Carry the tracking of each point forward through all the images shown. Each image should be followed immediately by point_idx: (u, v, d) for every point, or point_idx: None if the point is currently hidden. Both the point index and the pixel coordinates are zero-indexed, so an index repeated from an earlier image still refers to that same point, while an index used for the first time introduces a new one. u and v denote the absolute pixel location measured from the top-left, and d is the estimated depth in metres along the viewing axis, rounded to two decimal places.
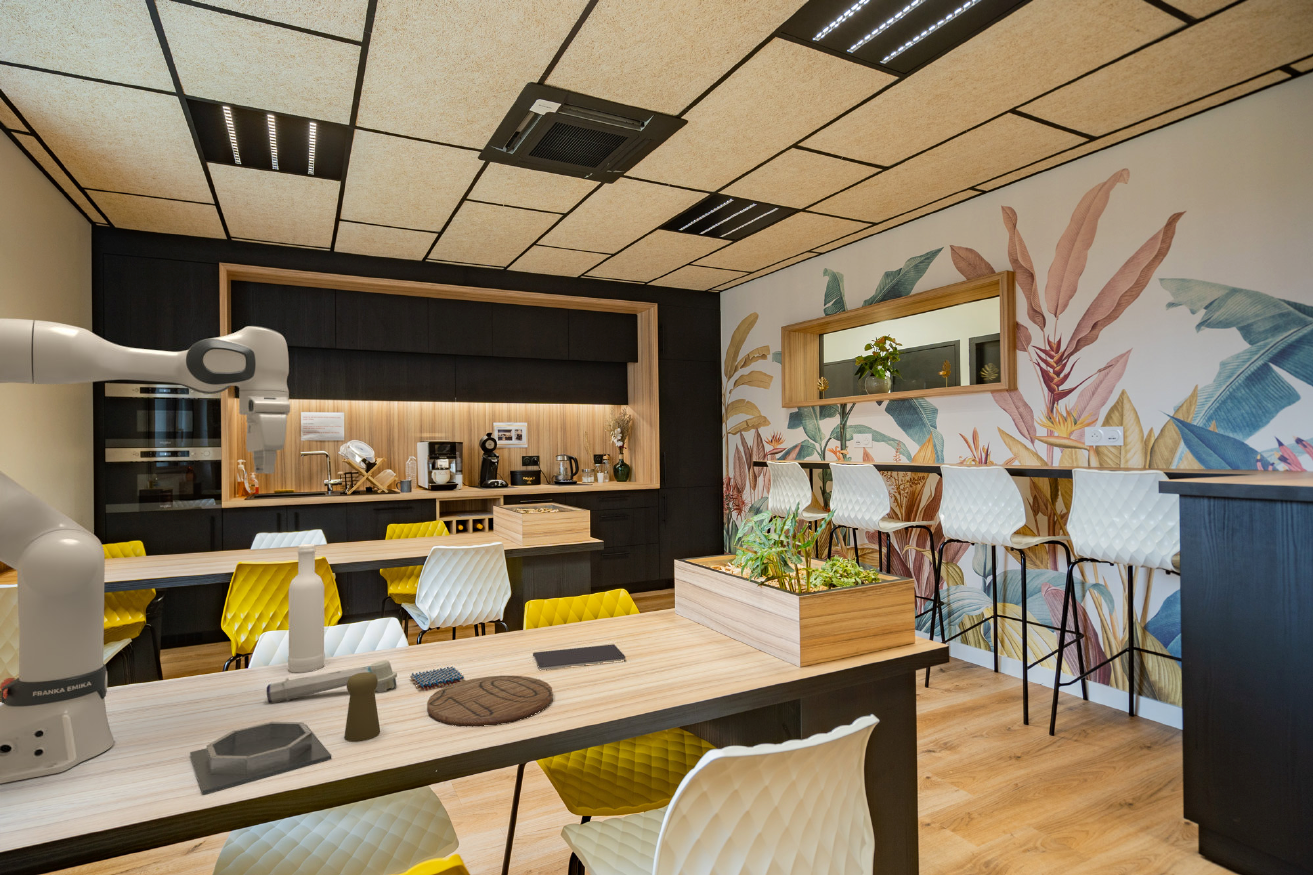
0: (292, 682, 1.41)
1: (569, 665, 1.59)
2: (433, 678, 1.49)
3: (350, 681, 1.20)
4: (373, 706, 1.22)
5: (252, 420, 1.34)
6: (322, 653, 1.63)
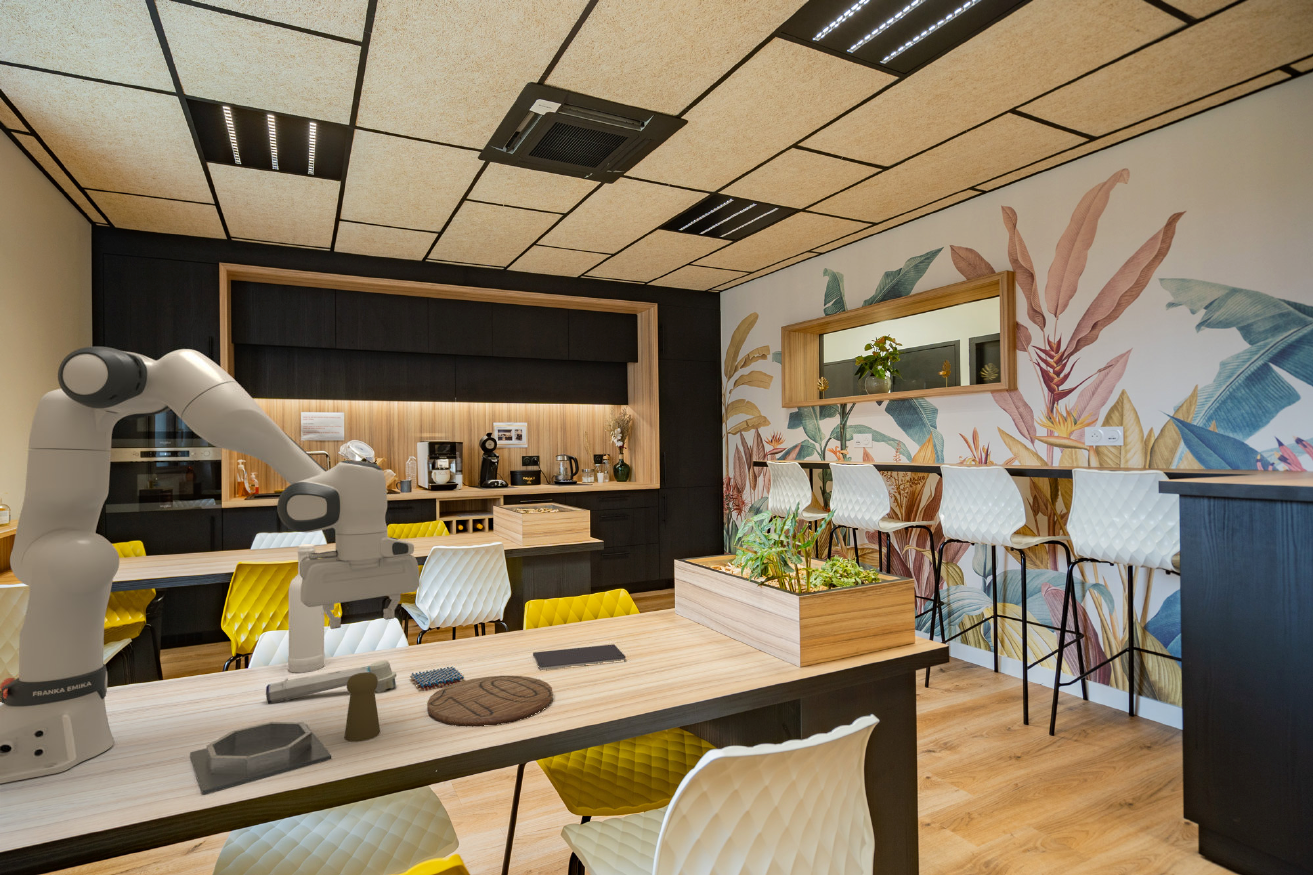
0: (291, 682, 1.41)
1: (569, 665, 1.59)
2: (433, 678, 1.49)
3: (350, 681, 1.20)
4: (373, 706, 1.22)
5: (377, 564, 1.22)
6: (322, 653, 1.63)
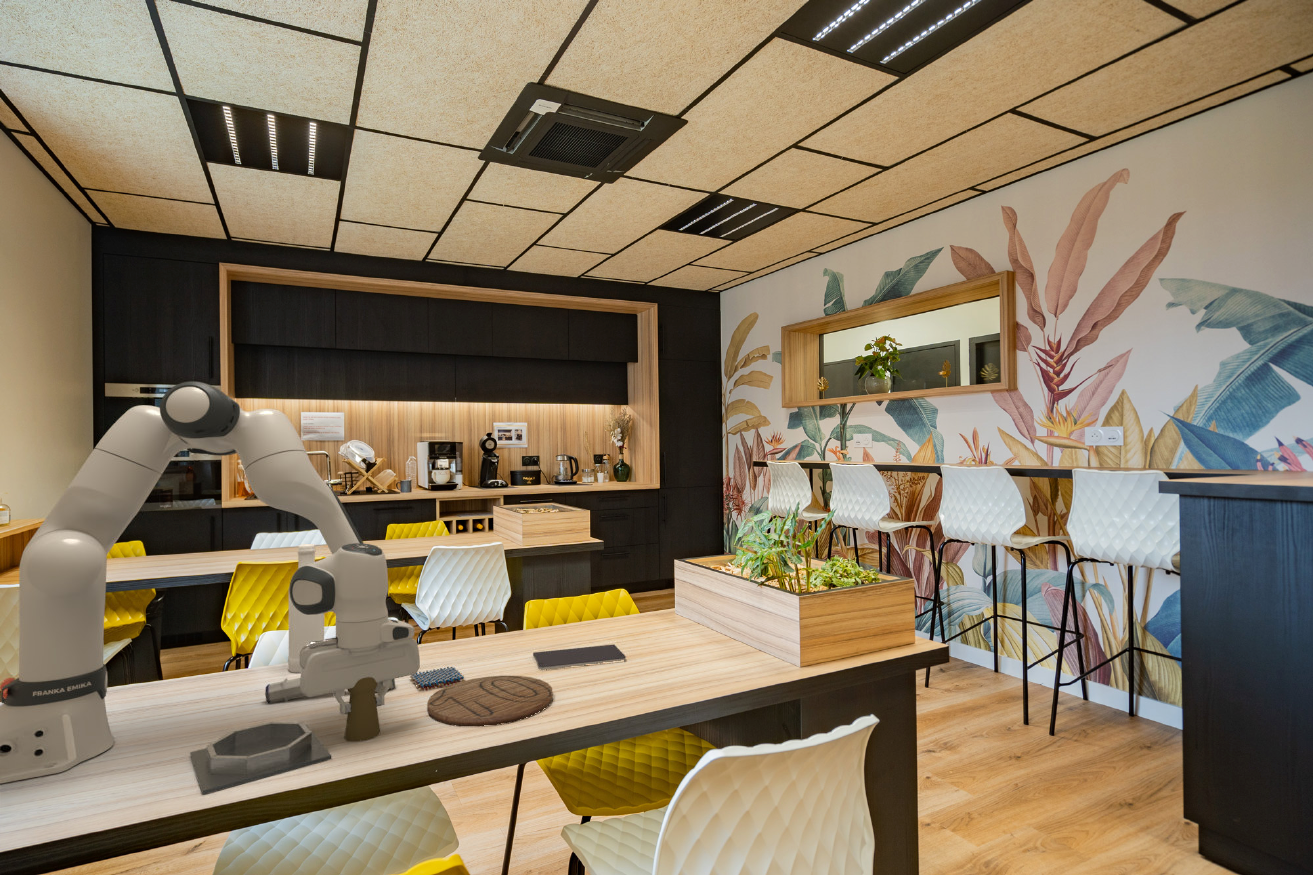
0: (291, 682, 1.41)
1: (569, 665, 1.59)
2: (433, 678, 1.49)
3: None
4: (373, 706, 1.22)
5: (377, 650, 1.22)
6: None
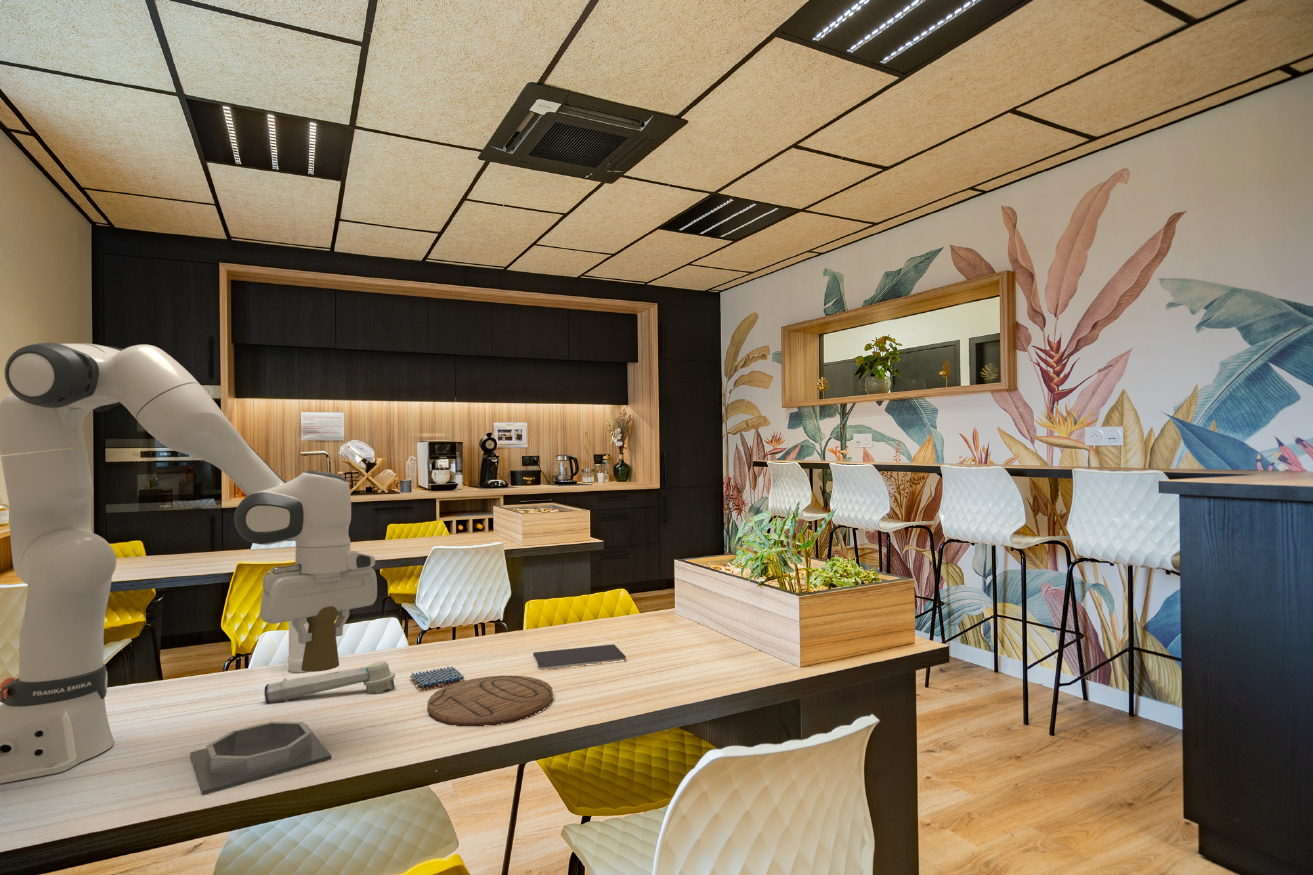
0: (290, 682, 1.41)
1: (569, 665, 1.60)
2: (433, 678, 1.49)
3: None
4: (334, 636, 1.19)
5: (340, 578, 1.20)
6: None
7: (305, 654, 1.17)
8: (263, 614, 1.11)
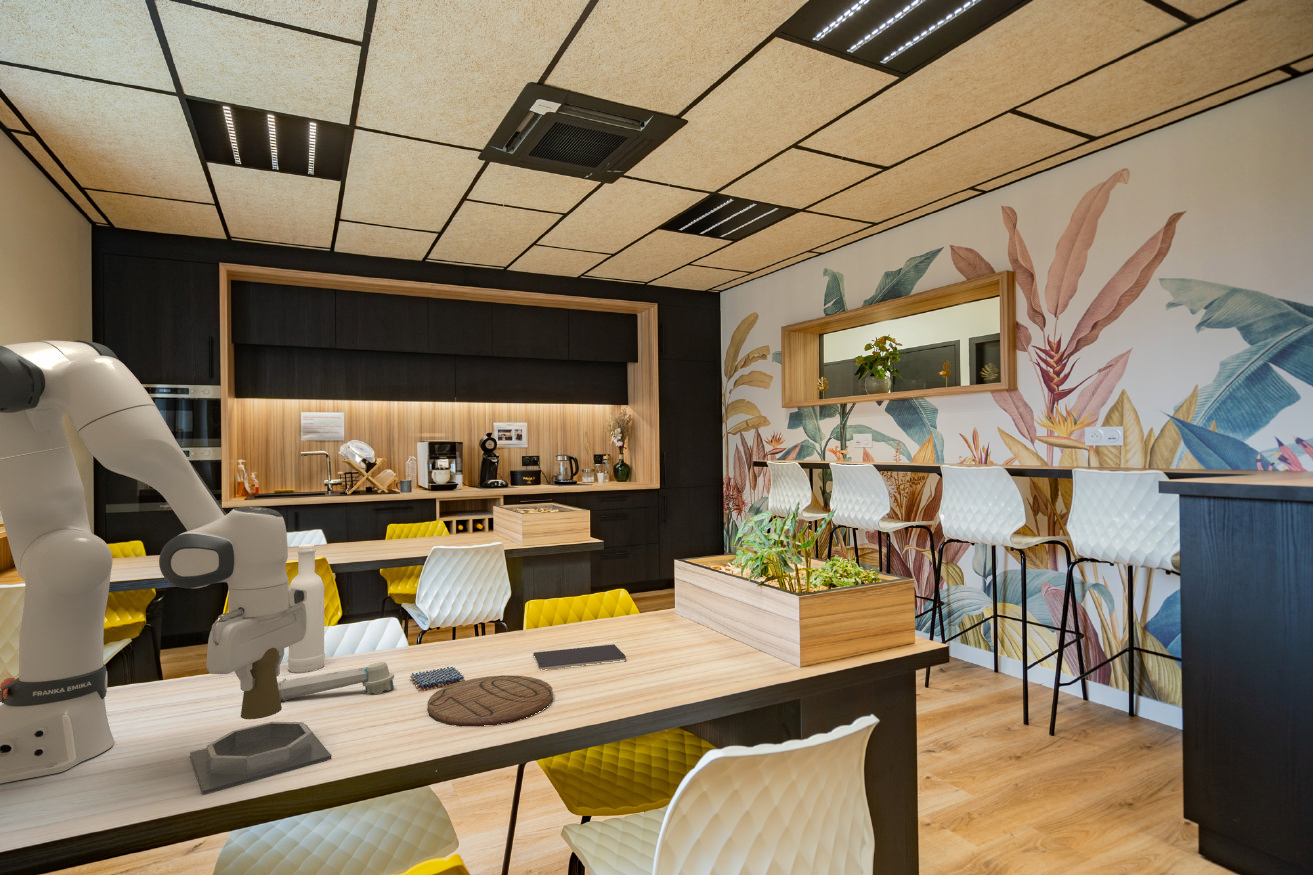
0: (289, 682, 1.41)
1: (570, 665, 1.60)
2: (433, 678, 1.49)
3: None
4: (276, 678, 1.15)
5: (280, 616, 1.15)
6: (322, 653, 1.63)
7: (248, 702, 1.11)
8: (213, 666, 1.04)
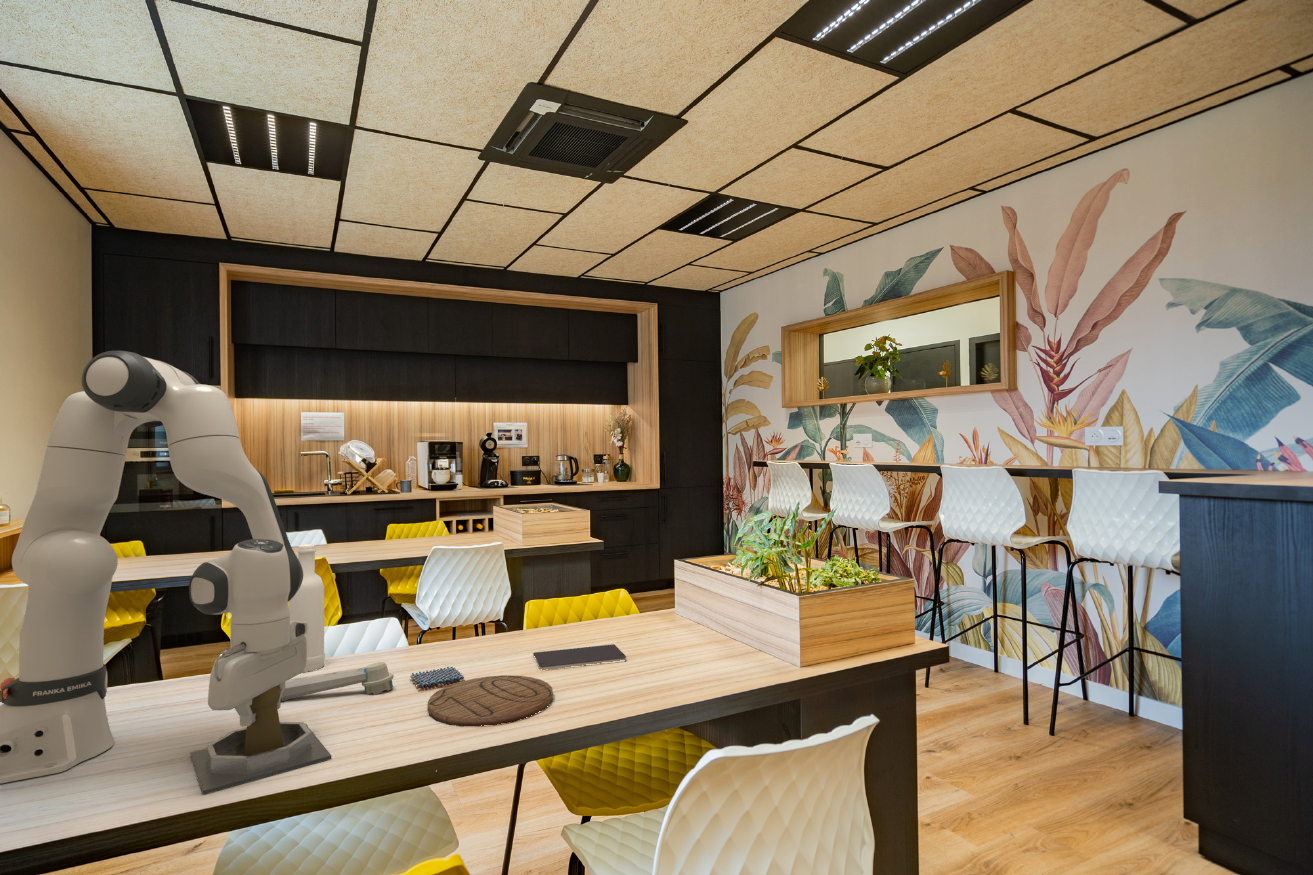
0: (288, 682, 1.41)
1: (570, 665, 1.60)
2: (433, 678, 1.49)
3: None
4: (278, 716, 1.15)
5: None
6: (322, 653, 1.63)
7: (251, 742, 1.11)
8: (215, 702, 1.04)
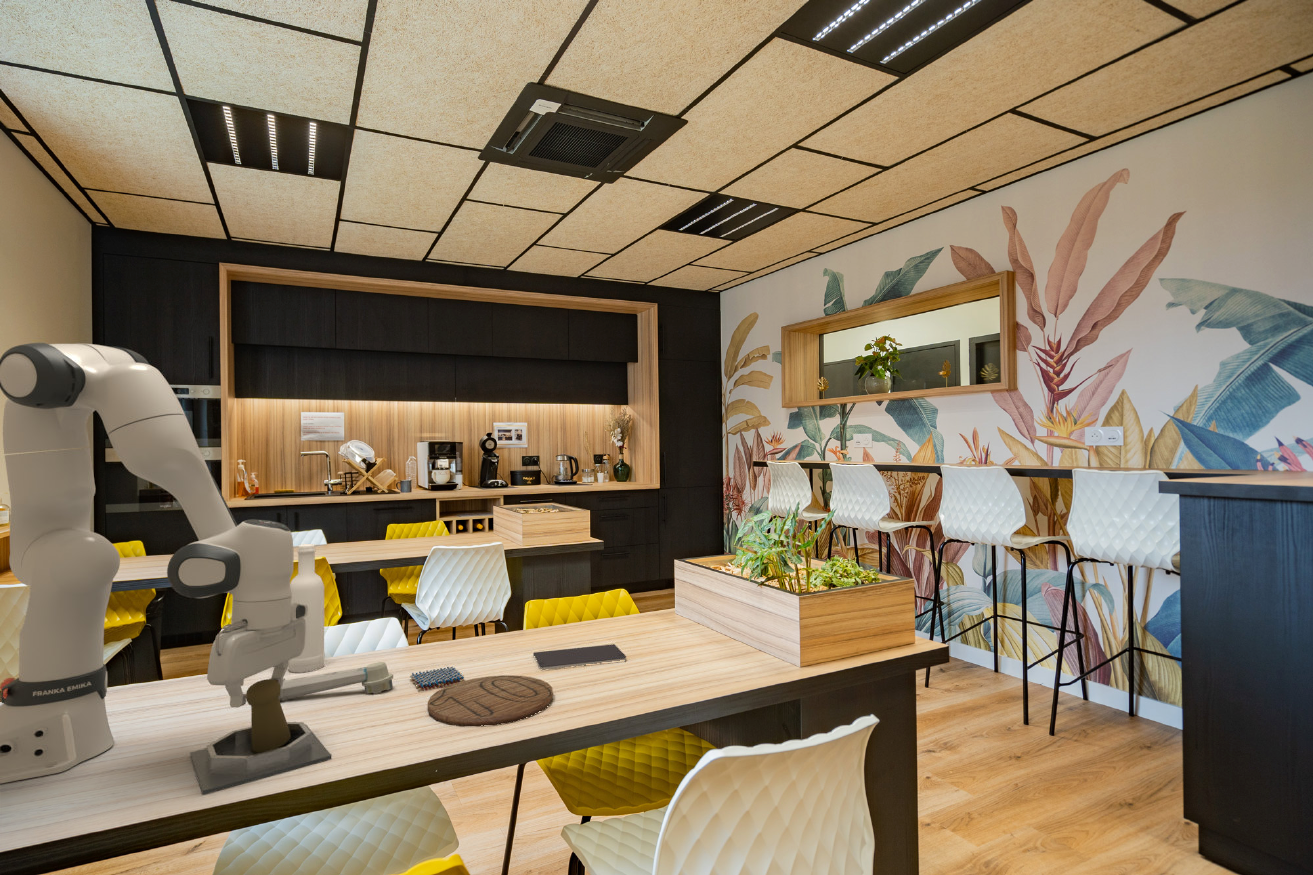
0: (288, 682, 1.41)
1: (570, 665, 1.60)
2: (433, 678, 1.49)
3: (258, 694, 1.13)
4: None
5: None
6: (322, 653, 1.63)
7: (257, 736, 1.14)
8: (214, 676, 1.04)
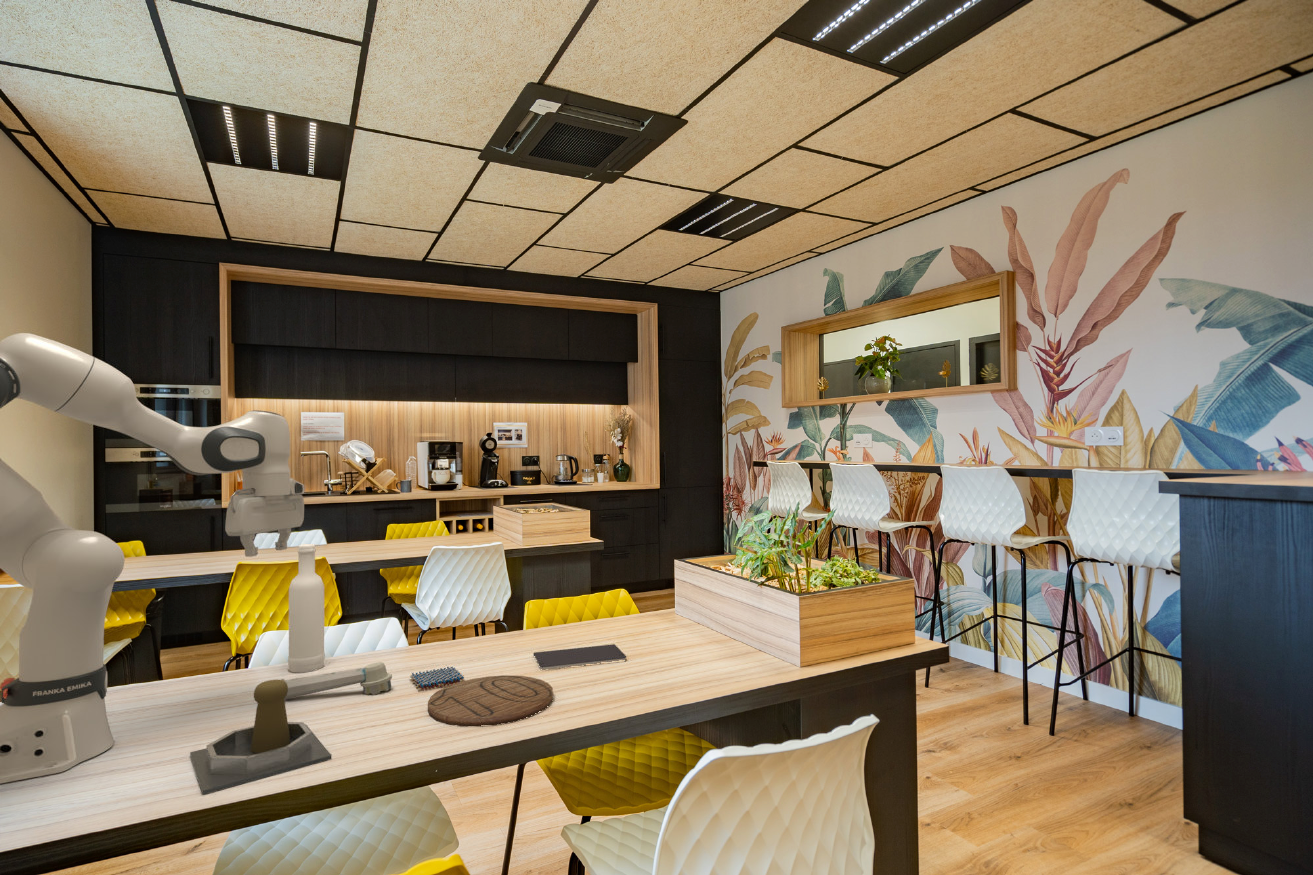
0: (287, 682, 1.40)
1: (570, 665, 1.60)
2: (433, 678, 1.49)
3: (266, 689, 1.15)
4: None
5: (283, 501, 1.43)
6: (322, 653, 1.63)
7: (259, 735, 1.14)
8: (231, 528, 1.31)
